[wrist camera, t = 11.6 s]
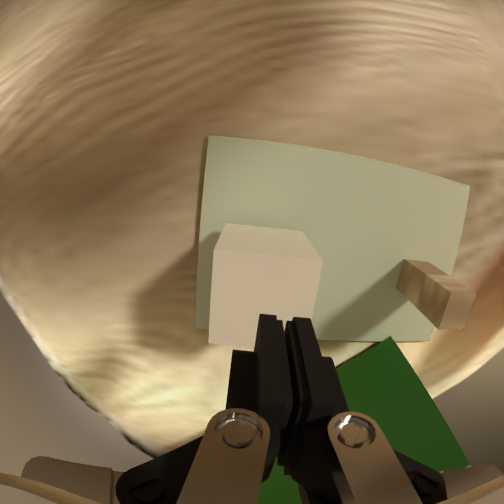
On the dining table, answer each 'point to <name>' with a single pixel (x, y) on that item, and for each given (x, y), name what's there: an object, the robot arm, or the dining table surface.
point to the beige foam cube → (260, 281)
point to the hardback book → (385, 416)
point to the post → (436, 294)
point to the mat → (335, 228)
